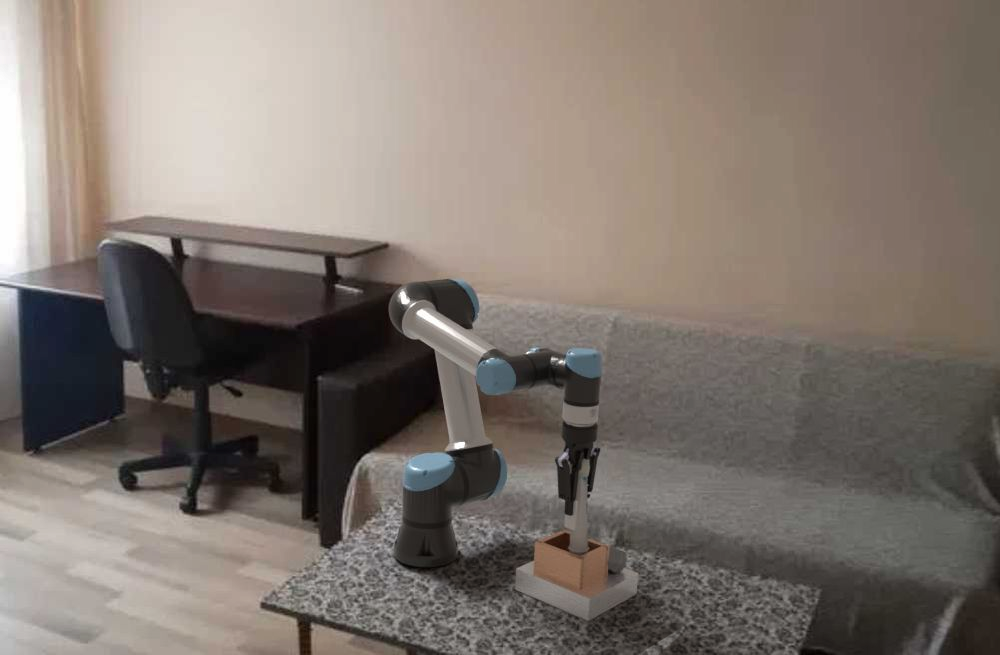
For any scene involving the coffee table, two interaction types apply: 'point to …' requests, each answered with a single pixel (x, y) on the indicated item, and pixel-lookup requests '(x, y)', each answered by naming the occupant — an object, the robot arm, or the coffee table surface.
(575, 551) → the pale grey tall bar
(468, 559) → the coffee table surface
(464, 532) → the coffee table surface
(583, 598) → the open box on base
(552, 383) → the robot arm
